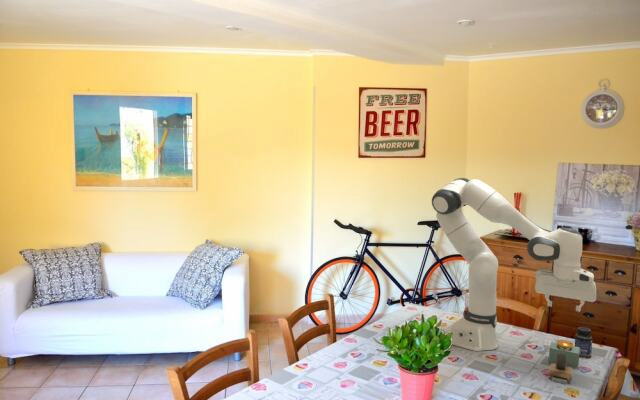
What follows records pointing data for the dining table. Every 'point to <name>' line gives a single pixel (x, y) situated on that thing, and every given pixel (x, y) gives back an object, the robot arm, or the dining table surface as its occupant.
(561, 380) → the rail
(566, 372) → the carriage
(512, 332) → the dining table surface
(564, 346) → the plunger
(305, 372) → the dining table surface
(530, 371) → the dining table surface
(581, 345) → the pill bottle
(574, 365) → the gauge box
